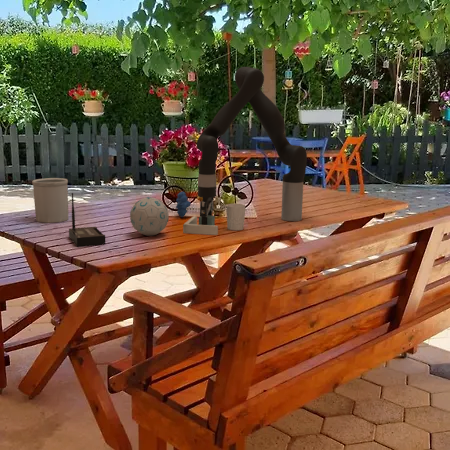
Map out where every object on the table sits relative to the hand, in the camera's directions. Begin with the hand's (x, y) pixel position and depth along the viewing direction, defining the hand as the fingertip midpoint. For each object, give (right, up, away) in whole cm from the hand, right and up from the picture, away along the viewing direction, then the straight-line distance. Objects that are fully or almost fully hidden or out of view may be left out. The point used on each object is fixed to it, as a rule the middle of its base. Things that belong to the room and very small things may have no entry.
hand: (206, 223), depth 255 cm
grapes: (-11, +3, +26) cm, 28 cm away
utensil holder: (-68, +2, +16) cm, 70 cm away
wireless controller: (-46, -7, -18) cm, 50 cm away
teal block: (0, -2, 0) cm, 2 cm away
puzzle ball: (-22, -5, -9) cm, 25 cm away
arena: (-1, -2, +2) cm, 3 cm away
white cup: (+12, -2, +4) cm, 13 cm away
